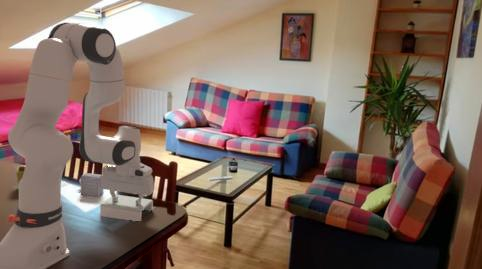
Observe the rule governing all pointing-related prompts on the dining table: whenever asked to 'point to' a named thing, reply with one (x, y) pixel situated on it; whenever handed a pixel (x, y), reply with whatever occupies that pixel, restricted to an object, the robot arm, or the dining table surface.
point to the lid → (126, 203)
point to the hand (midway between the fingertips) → (126, 202)
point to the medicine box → (91, 184)
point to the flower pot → (20, 173)
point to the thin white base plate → (123, 213)
